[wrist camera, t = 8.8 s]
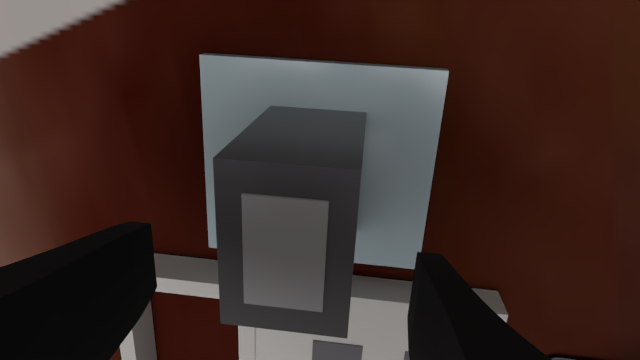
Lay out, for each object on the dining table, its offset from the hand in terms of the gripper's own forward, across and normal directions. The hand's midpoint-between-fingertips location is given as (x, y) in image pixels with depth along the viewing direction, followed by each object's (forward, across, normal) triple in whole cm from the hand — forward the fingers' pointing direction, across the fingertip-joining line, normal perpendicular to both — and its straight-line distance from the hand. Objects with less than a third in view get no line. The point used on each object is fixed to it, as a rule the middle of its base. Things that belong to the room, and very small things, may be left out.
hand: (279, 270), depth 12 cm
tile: (+9, 0, 0) cm, 9 cm away
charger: (+8, 0, 0) cm, 8 cm away
